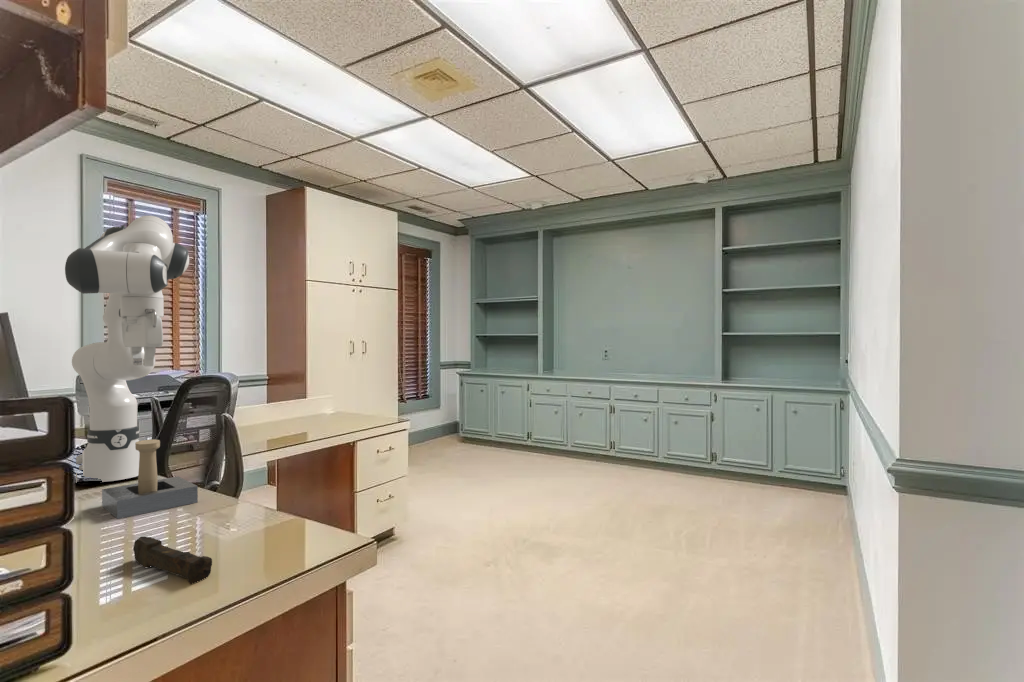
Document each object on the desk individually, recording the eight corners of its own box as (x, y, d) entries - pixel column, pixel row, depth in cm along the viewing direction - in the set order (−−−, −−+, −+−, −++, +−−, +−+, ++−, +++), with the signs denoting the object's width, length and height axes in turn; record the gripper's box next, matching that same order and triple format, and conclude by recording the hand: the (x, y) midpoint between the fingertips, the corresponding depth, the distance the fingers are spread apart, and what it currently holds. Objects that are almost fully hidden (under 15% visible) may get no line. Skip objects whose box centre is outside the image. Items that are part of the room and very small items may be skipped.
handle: (135, 509, 124) (135, 445, 124) (135, 502, 129) (135, 440, 129) (160, 505, 126) (160, 442, 127) (159, 499, 132) (159, 438, 132)
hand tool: (213, 577, 88) (213, 549, 88) (189, 587, 85) (189, 558, 85) (152, 555, 98) (152, 530, 98) (127, 563, 94) (127, 537, 94)
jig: (102, 506, 126) (102, 489, 126) (178, 491, 138) (178, 476, 138) (117, 519, 117) (117, 500, 117) (197, 502, 129) (197, 485, 129)
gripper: (170, 308, 127) (170, 366, 127) (145, 312, 141) (145, 364, 141) (139, 307, 122) (139, 367, 122) (116, 311, 136) (116, 365, 136)
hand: (142, 365), depth 132 cm, fingers open, 8 cm apart
